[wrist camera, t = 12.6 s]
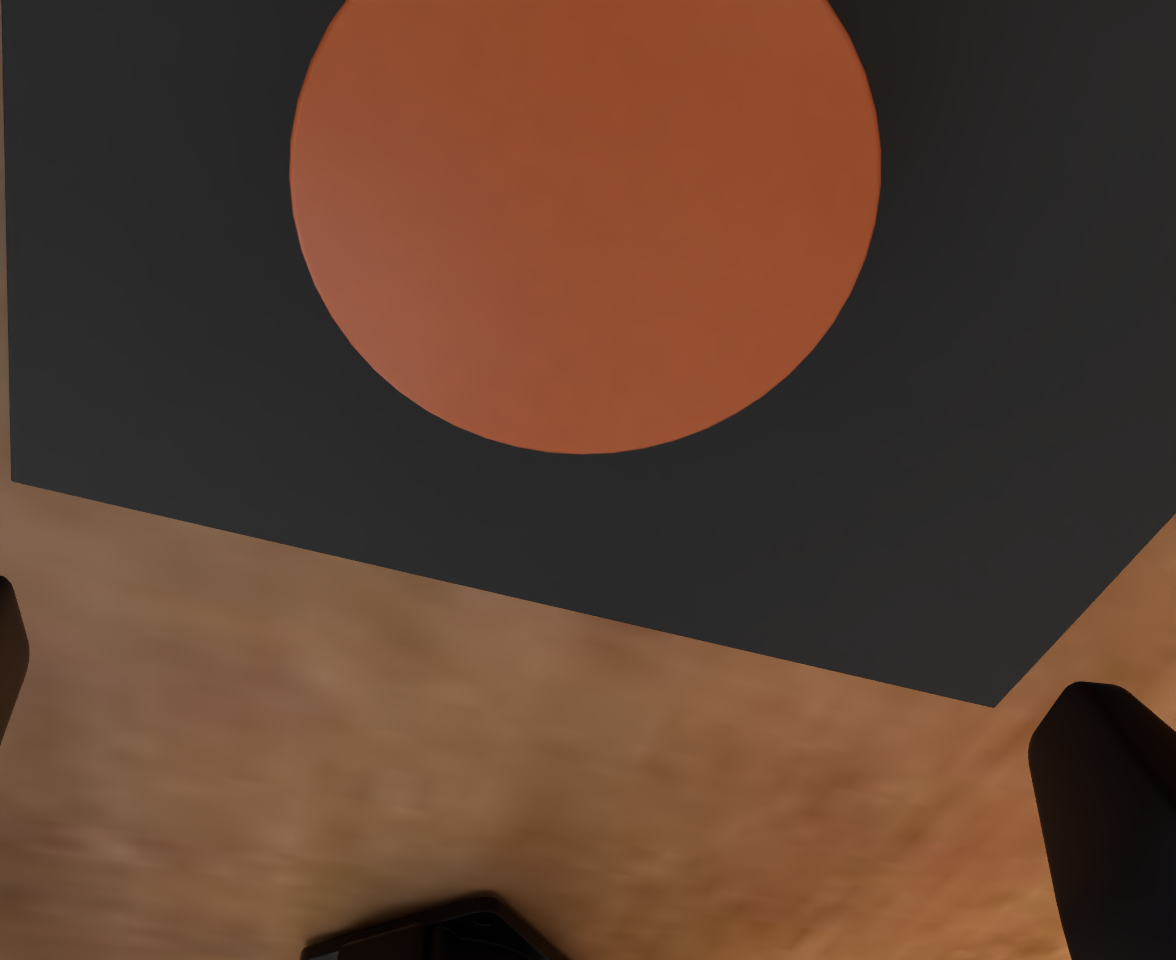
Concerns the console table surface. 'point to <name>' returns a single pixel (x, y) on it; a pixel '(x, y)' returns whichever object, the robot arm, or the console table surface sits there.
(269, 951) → the console table surface
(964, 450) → the mat
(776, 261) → the disc
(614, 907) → the console table surface
